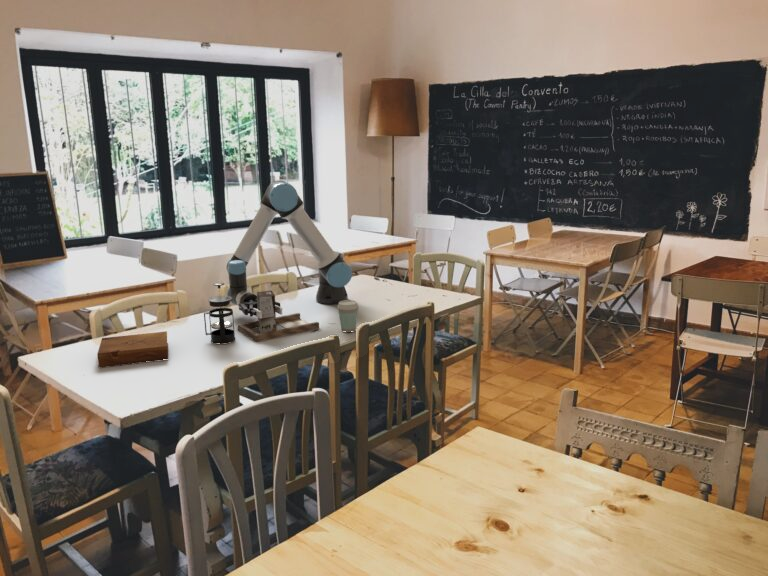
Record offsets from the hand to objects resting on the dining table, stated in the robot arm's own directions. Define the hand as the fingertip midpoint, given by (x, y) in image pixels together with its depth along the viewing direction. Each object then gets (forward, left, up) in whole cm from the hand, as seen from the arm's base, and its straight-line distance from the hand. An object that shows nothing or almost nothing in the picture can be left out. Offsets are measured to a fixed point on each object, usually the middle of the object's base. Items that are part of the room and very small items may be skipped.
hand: (271, 313), depth 252 cm
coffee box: (0, -5, -9) cm, 10 cm away
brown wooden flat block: (+51, -9, -10) cm, 53 cm away
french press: (+19, -6, -9) cm, 22 cm away
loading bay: (-5, -5, -9) cm, 11 cm away
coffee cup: (-27, +14, -9) cm, 32 cm away
